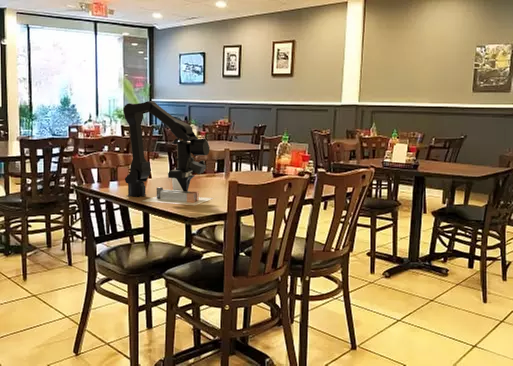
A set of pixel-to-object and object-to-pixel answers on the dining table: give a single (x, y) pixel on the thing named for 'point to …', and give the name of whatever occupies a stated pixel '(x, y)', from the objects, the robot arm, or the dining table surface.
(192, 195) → the tong fixed leg
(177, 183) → the white cup
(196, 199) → the tong leg
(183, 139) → the robot arm
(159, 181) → the dining table surface
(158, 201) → the cutting board
